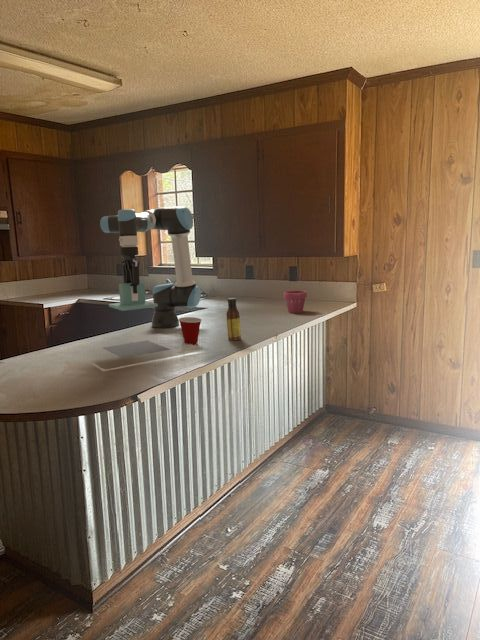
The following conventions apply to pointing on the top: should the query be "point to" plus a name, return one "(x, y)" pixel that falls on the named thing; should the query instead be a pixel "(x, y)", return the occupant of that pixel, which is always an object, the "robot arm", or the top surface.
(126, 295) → the lid
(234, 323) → the sauce bottle
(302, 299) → the plant pot
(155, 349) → the mat
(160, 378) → the top surface
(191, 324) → the plastic cup
